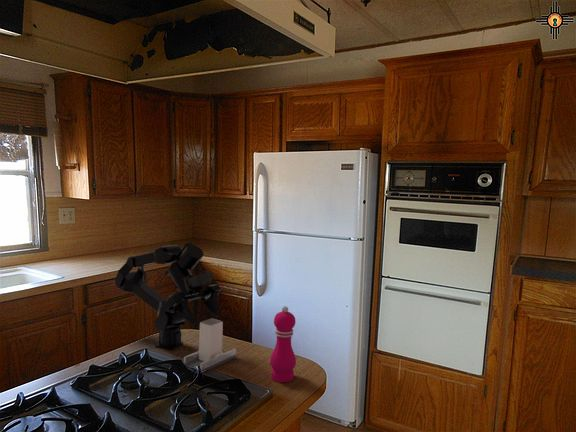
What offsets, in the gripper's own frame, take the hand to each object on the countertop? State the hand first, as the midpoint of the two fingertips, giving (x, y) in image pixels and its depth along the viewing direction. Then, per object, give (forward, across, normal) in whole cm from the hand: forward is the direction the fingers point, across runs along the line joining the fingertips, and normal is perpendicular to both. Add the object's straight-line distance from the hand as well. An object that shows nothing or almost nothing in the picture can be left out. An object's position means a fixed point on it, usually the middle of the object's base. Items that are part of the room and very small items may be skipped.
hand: (206, 320), depth 118 cm
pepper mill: (+26, +5, -9) cm, 28 cm away
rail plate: (+10, 0, +7) cm, 12 cm away
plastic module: (+9, 0, +6) cm, 11 cm away
